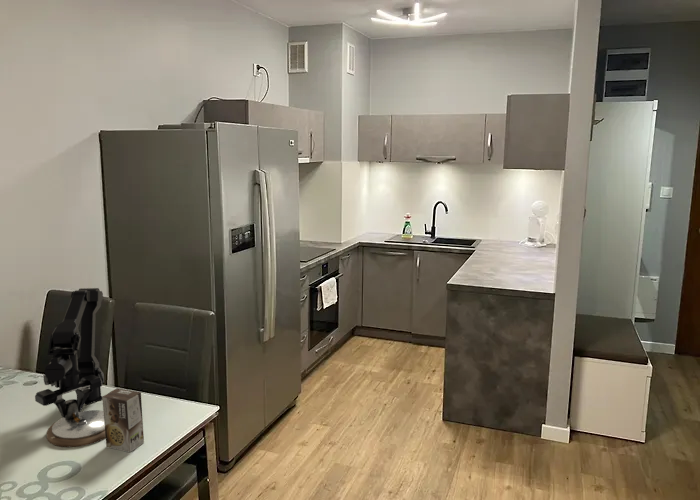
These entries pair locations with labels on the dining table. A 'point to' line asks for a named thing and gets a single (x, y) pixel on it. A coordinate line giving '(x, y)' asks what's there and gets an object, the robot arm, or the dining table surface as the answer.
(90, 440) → the dial base
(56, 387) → the robot arm
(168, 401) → the dining table surface
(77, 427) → the dial
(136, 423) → the coffee box
